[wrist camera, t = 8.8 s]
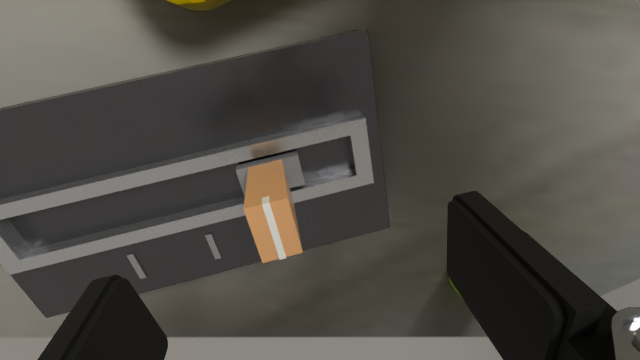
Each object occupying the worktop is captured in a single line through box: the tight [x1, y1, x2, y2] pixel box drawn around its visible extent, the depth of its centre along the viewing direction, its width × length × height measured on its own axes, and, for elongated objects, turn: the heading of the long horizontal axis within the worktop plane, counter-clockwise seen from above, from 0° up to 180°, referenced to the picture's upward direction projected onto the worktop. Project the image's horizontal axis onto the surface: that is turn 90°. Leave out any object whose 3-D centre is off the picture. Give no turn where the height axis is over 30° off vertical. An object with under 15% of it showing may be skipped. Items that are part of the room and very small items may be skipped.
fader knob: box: [236, 151, 305, 263], centre depth 16 cm, size 3×4×6 cm
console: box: [0, 30, 390, 318], centre depth 19 cm, size 13×24×4 cm, turn 101°
